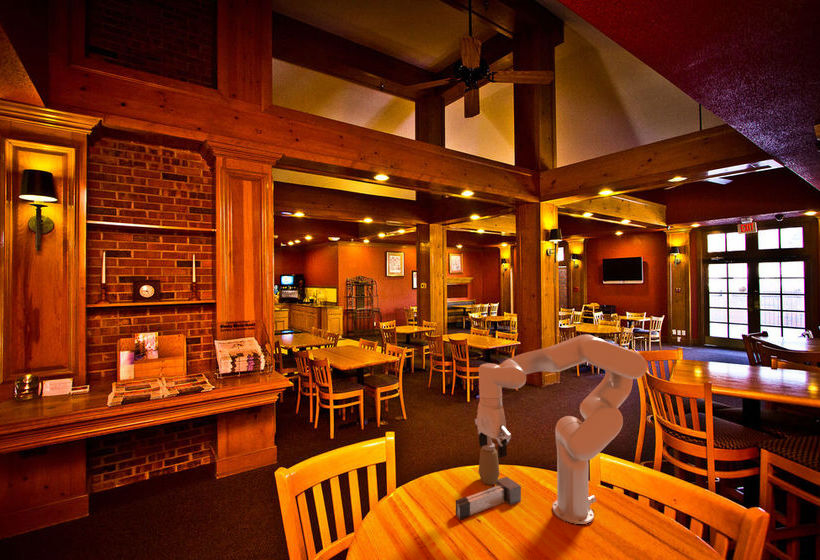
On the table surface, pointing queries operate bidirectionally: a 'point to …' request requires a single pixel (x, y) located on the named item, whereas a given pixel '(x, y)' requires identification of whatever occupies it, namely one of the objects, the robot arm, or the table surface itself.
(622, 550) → the table surface
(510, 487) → the tong base
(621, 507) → the table surface
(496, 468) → the squeeze bottle
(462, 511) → the tong arm
